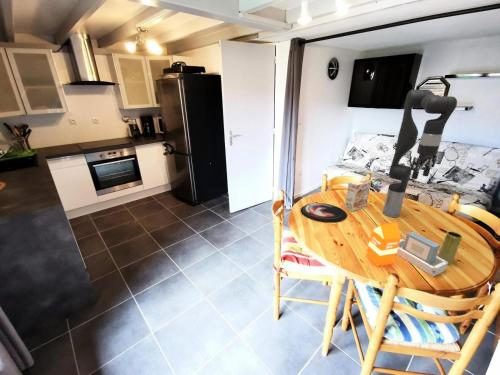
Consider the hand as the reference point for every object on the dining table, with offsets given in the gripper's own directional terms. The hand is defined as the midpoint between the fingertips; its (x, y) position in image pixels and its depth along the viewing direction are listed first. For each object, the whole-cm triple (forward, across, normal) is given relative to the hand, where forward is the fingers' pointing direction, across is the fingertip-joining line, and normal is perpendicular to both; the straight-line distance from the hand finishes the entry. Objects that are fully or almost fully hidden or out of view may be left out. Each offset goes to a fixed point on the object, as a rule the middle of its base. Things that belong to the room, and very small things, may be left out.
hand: (419, 177), depth 111 cm
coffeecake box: (+36, -9, -39) cm, 54 cm away
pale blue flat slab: (+34, +9, +13) cm, 38 cm away
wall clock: (+37, +16, -43) cm, 59 cm away
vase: (+36, -3, +19) cm, 41 cm away
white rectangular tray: (+36, +9, +13) cm, 39 cm away
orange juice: (+36, +24, +5) cm, 44 cm away
